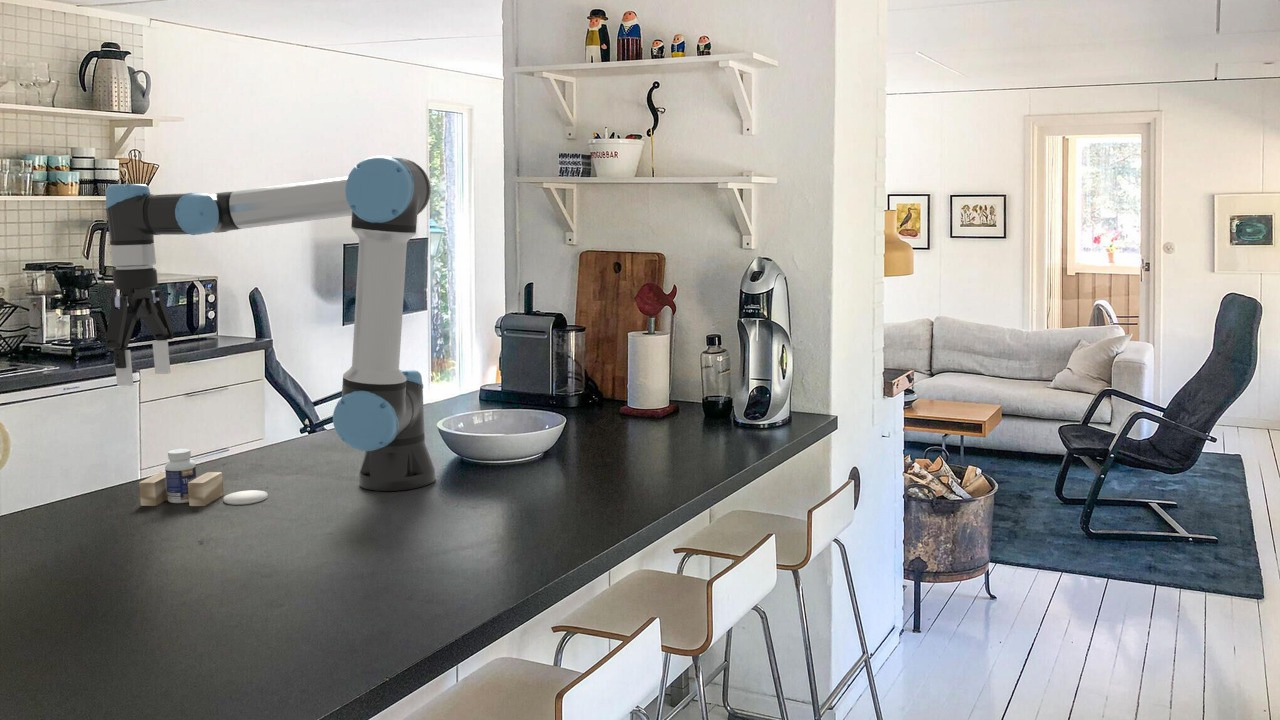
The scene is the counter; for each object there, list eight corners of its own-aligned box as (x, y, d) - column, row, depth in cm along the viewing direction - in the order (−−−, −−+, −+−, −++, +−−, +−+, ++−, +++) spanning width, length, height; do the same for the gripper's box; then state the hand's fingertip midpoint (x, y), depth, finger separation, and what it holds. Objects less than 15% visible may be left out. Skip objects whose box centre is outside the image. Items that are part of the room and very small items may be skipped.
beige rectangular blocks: (223, 494, 211) (222, 472, 210) (204, 506, 203) (203, 482, 202) (162, 494, 212) (160, 472, 211) (140, 505, 204) (138, 482, 203)
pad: (274, 493, 211) (274, 490, 211) (257, 504, 203) (257, 501, 203) (234, 493, 212) (234, 490, 212) (216, 504, 204) (216, 501, 204)
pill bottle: (187, 504, 204) (183, 454, 203) (161, 503, 205) (157, 453, 204) (203, 497, 209) (200, 448, 208) (179, 495, 210) (175, 447, 209)
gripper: (149, 263, 214) (159, 369, 217) (76, 272, 189) (88, 391, 193) (186, 263, 213) (195, 368, 217) (116, 271, 189) (128, 390, 192)
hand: (144, 379), depth 205 cm, fingers open, 13 cm apart
